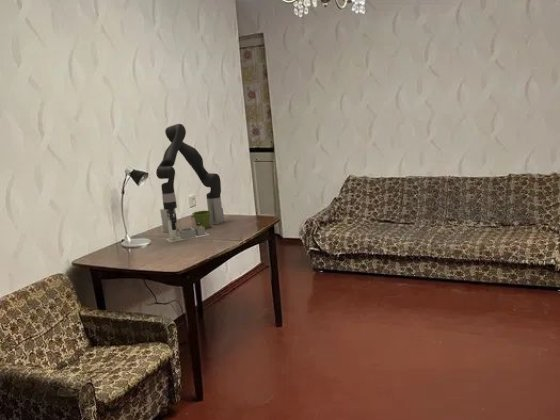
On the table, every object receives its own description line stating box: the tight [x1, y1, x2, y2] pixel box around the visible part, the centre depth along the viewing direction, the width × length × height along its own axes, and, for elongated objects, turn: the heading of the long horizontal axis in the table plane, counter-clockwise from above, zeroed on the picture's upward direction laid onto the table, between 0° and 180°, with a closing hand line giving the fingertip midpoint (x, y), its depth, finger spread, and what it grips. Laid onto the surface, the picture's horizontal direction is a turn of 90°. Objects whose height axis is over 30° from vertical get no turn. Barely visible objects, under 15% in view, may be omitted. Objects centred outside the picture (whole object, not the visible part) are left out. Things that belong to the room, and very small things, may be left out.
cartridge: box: [168, 217, 178, 238], centre depth 309 cm, size 5×5×12 cm
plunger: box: [195, 222, 203, 229], centre depth 316 cm, size 4×4×7 cm
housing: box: [165, 227, 210, 243], centre depth 314 cm, size 24×10×6 cm, turn 115°
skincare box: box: [159, 206, 179, 234], centre depth 338 cm, size 8×7×16 cm
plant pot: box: [192, 210, 211, 229], centre depth 334 cm, size 12×12×11 cm
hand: (173, 229), depth 309 cm, fingers closed on cartridge, 4 cm apart
